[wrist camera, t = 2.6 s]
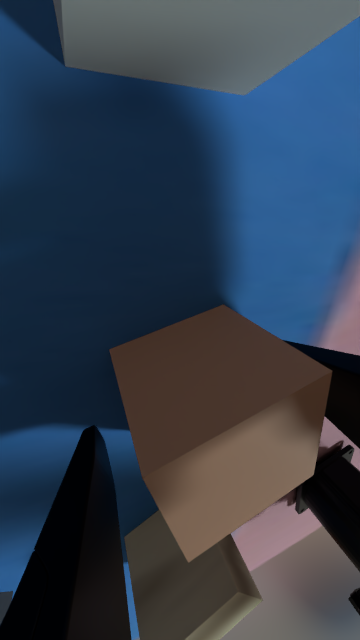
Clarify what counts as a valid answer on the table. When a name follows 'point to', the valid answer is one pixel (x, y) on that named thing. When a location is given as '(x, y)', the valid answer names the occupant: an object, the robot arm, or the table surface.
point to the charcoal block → (4, 603)
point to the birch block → (186, 585)
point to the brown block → (219, 420)
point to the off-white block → (196, 38)
